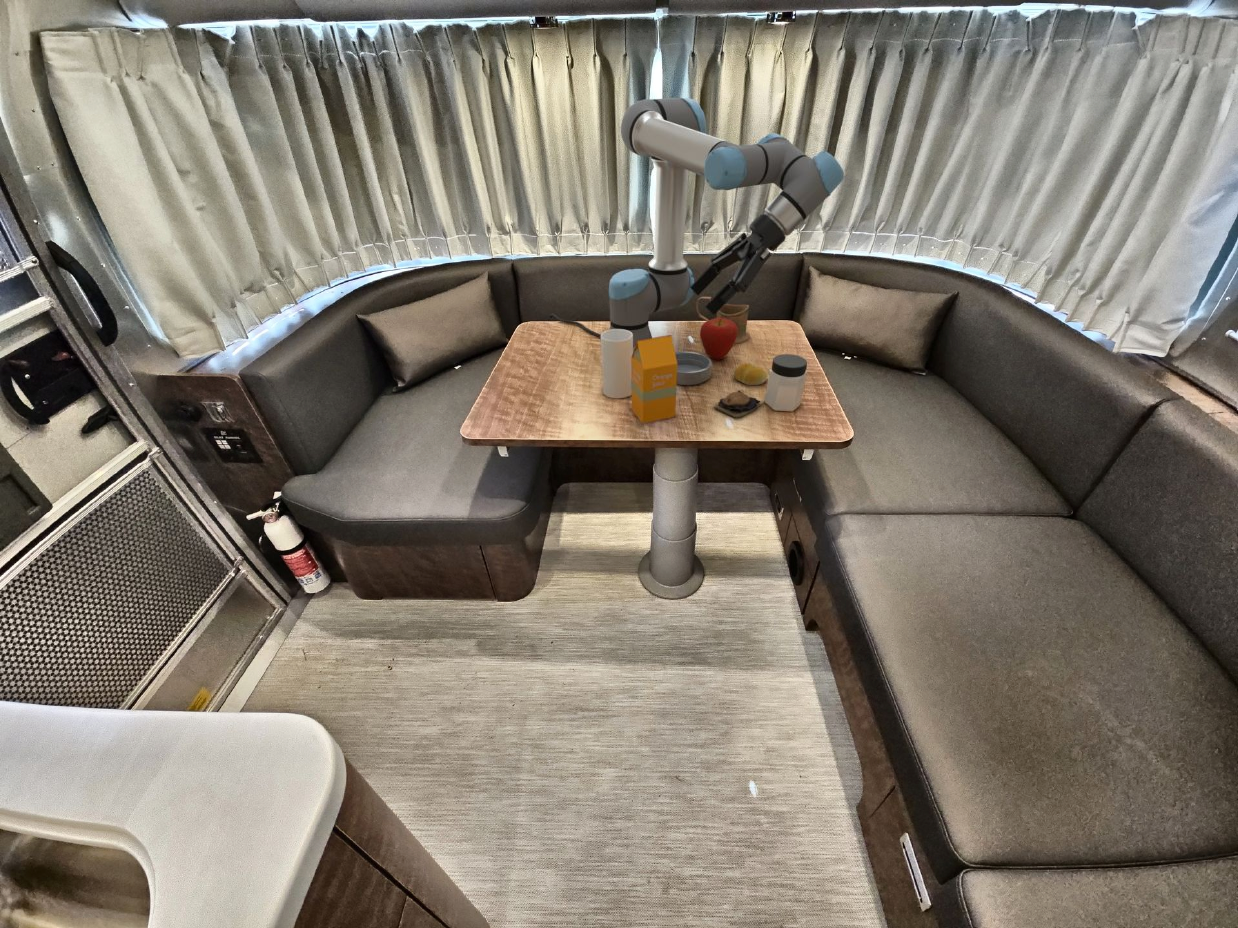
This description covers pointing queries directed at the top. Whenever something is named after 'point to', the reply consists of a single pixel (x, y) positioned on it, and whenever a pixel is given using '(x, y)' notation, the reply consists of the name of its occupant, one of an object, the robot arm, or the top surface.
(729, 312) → the mug
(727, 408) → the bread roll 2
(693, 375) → the pan
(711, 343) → the apple
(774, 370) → the jar
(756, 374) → the bread roll
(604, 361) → the cup
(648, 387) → the orange juice
